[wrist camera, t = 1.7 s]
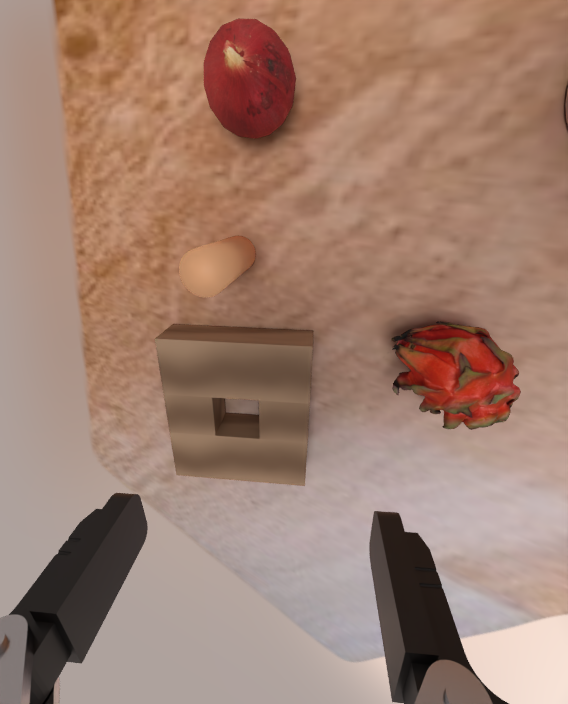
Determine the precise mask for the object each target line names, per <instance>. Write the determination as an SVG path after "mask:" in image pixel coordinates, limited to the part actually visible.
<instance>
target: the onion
mask: <svg viewBox="0 0 568 704" xmlns="http://www.w3.org/2000/svg"><path fill="white" fill-rule="evenodd" d="M295 82H296V76H295V72H294V68H293V64H292V60H291V56H290V53H289V51H288V48H287V47H286V46H285V44H284V43H283V42H282V40H281V39H280V38H279V36H278V35H277V33H276V32H275V31H274V30H273V29H271V28H270V27H268V26H266V25H265V24H263V23H261V22H260V21H258V20H257V19H236V20H234V21H232V22H229V23H227V24H224V25H222V26H221V27H220V29H219V30H218V31H217V33H216V34H215V35H214V37H213V38H212V40H211V41H210V44H209V47H208V50H207V53H206V57H205V60H204V87H205V91H206V94H207V98H208V102H209V105H210V108H211V109H212V111H213V112H214V114H215V115H216V117H217V118H218V119H219V121H220V122H221V124H222V125H223V127H224V128H226V129H228V130H229V131H231V132H233V133H234V134H236V135H237V136H240V137H249V138H255V139H256V138H260V137H263V136H267V135H270V134H271V133H272V132H273V131H275V130H276V129H277V128H278V127H279V126H281V125H282V124H283V122H284V120H285V119H286V117H287V115H288V113H289V111H290V109H291V108H292V105H293V99H294V91H295Z"/></svg>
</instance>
